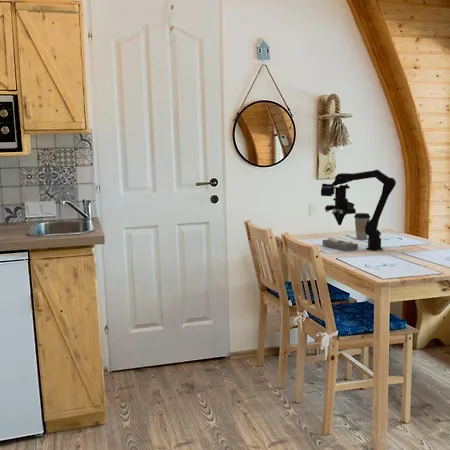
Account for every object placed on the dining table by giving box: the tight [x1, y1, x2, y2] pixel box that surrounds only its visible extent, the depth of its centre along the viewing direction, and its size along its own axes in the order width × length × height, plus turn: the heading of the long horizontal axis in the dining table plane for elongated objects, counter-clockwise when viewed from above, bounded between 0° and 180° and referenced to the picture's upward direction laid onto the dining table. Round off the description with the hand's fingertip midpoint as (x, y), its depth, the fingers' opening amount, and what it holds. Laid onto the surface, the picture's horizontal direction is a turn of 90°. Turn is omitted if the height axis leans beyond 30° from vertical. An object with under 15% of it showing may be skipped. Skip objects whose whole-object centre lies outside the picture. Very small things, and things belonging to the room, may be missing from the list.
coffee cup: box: [353, 212, 371, 241], centre depth 310 cm, size 9×9×15 cm
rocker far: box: [327, 237, 340, 242], centre depth 290 cm, size 6×4×1 cm, turn 27°
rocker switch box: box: [322, 239, 359, 252], centre depth 286 cm, size 20×8×3 cm, turn 27°
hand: (339, 225), depth 284 cm, fingers closed
